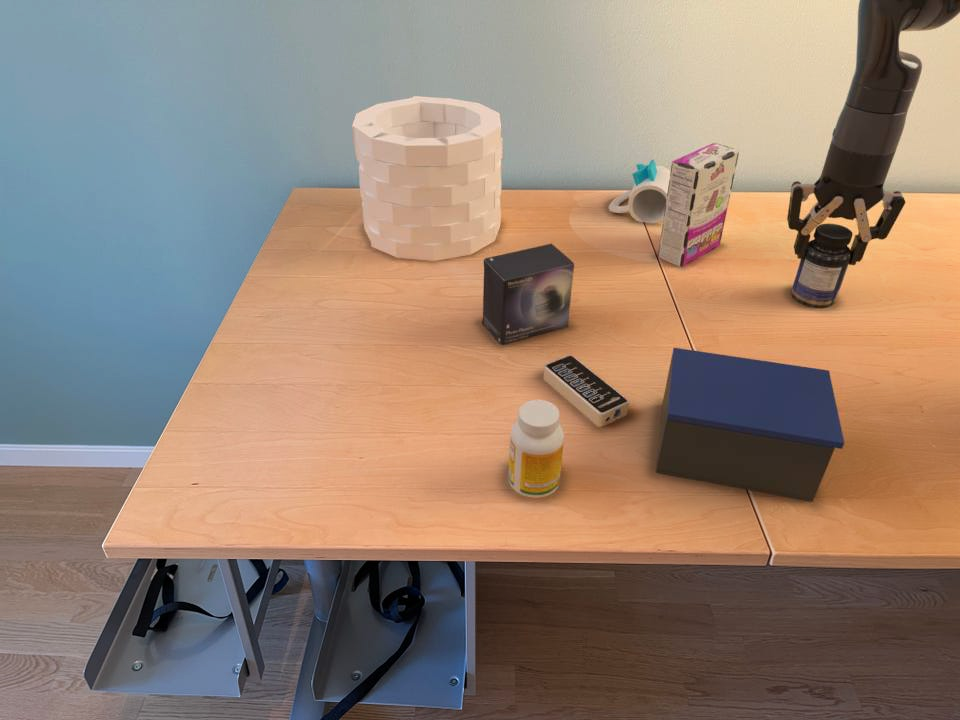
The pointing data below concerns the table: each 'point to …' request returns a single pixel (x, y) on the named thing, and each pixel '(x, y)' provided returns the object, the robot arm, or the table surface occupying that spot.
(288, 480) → the table surface
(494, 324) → the small box
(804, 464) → the storage box
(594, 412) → the multiport hub
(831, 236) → the pill bottle
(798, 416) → the storage lid
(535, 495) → the supplement bottle
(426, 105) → the basket
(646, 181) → the mug
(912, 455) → the table surface
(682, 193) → the candy bar box
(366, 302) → the table surface
